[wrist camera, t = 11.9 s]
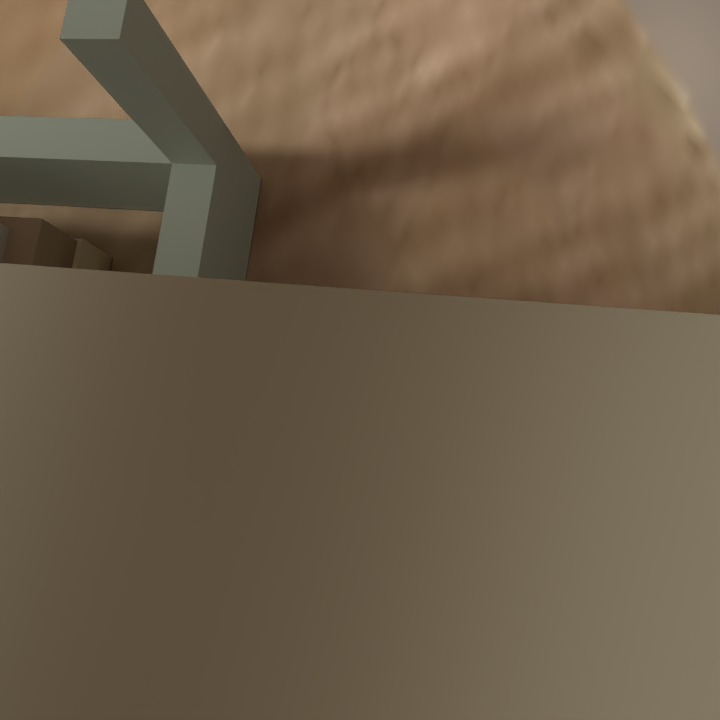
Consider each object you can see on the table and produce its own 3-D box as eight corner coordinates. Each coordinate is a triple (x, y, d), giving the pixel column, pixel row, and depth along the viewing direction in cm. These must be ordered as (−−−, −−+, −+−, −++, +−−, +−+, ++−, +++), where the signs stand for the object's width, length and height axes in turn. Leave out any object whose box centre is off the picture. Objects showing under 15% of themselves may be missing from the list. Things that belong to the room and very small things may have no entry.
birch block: (255, 532, 19) (-616, 731, 4) (269, 431, 20) (-446, 231, 4) (609, 582, 17) (1776, 1351, 2) (615, 470, 18) (1575, 375, 2)
